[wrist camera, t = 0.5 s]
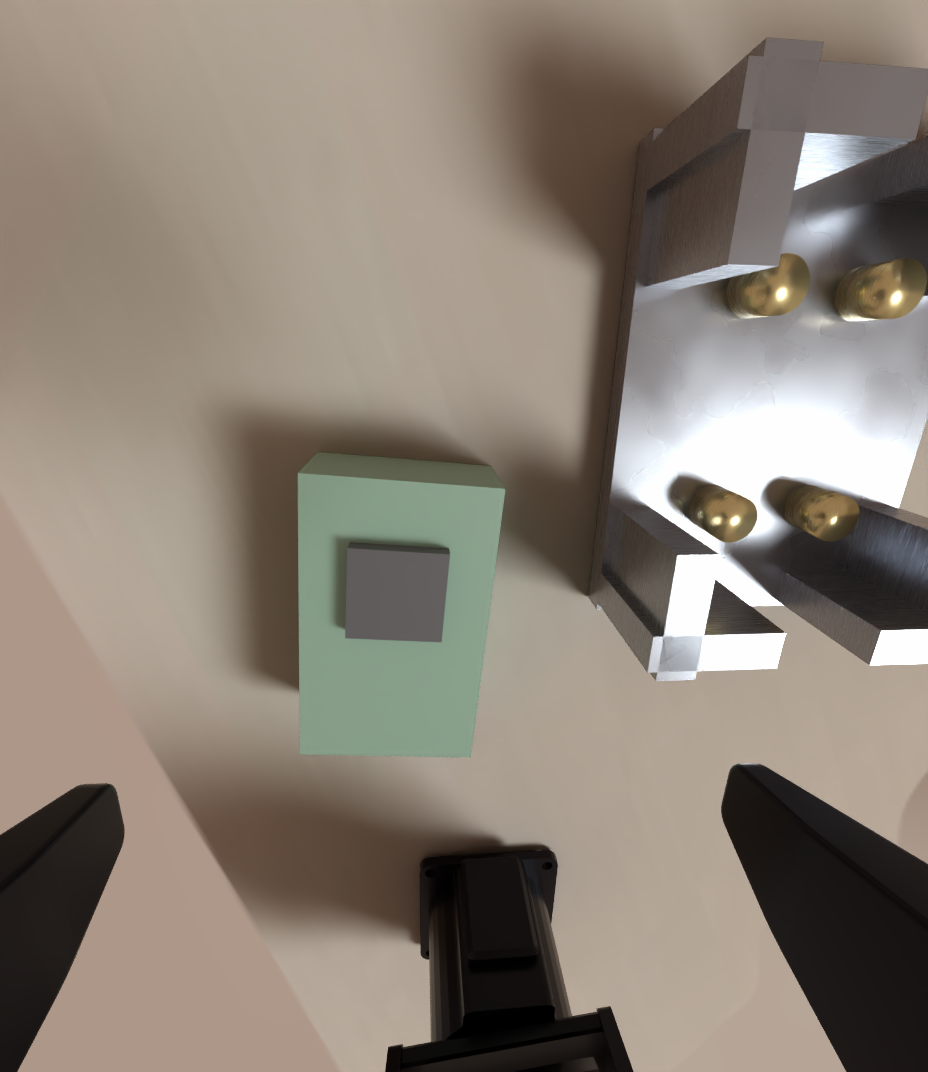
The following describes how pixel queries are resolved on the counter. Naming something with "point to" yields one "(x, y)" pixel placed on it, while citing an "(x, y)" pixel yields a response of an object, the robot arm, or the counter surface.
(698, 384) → the chassis
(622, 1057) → the robot arm
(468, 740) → the green block
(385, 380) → the counter surface
